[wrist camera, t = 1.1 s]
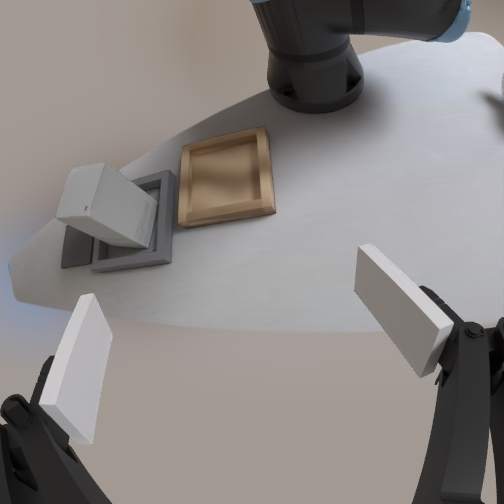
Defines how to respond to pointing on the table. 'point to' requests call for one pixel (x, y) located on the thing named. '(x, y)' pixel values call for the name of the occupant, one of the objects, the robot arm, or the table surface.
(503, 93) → the white knot sculpture
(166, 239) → the tray
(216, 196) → the wooden square tray
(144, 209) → the supplement box
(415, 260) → the table surface
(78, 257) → the pad
